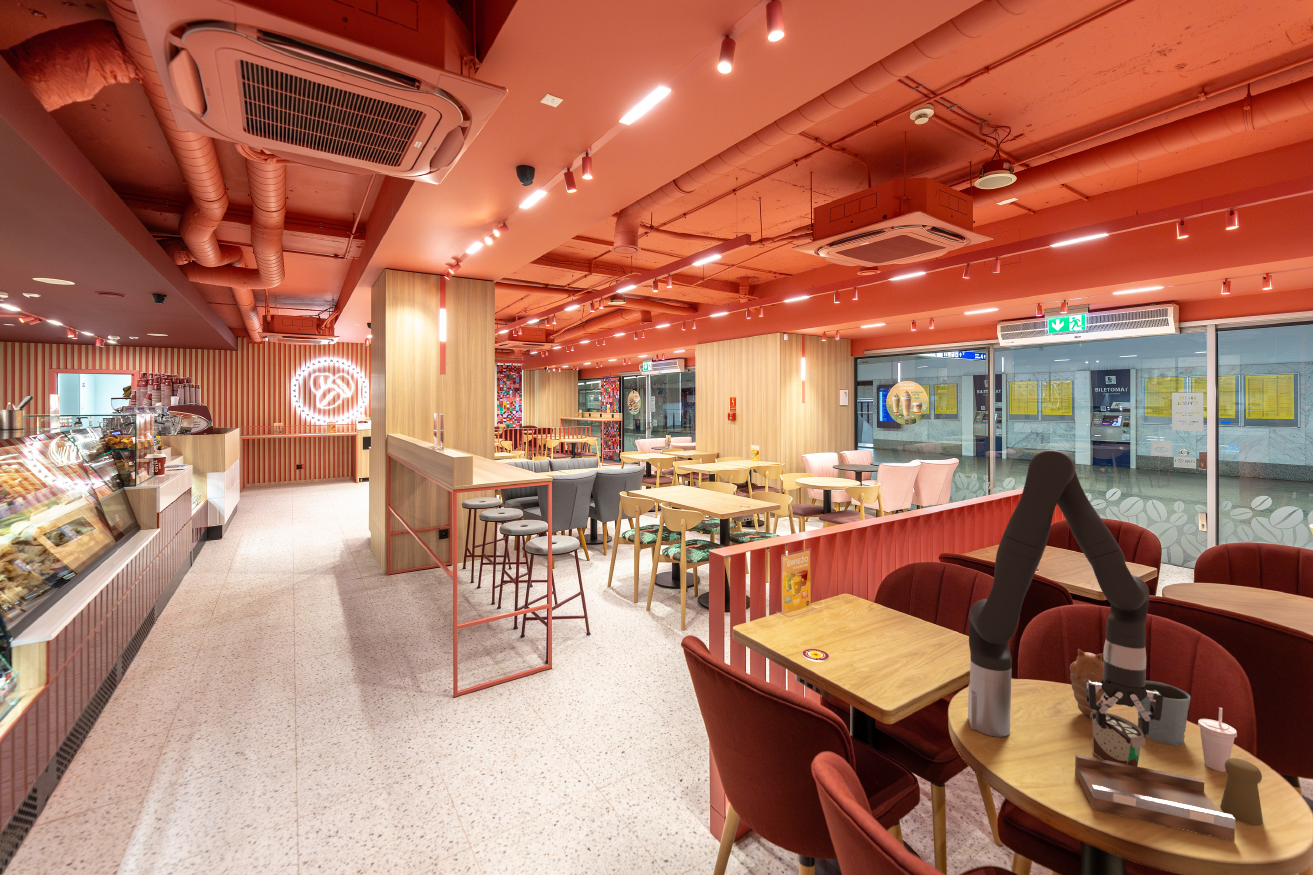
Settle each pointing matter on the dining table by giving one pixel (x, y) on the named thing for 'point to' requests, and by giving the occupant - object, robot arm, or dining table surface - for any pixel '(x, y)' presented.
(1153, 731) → the grey blue pot
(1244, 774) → the cork
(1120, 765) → the wooden tray
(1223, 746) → the smoothie
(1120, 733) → the food container
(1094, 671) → the cat ice cream
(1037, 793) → the dining table surface
